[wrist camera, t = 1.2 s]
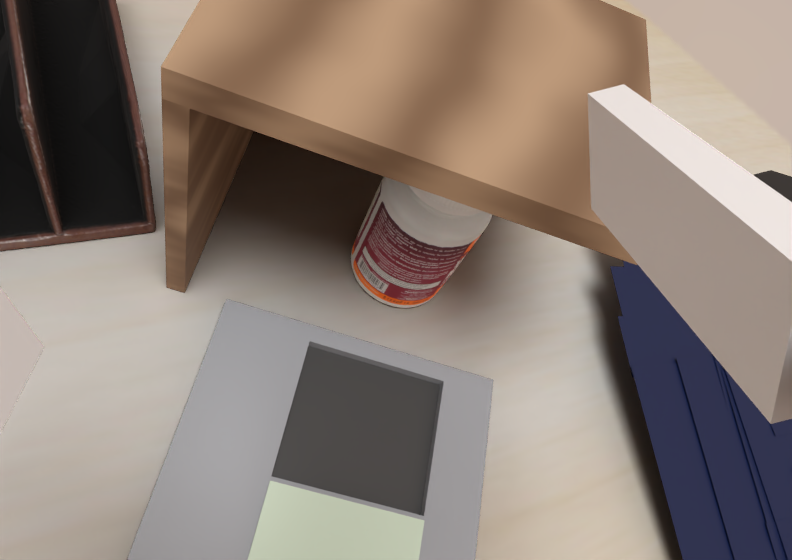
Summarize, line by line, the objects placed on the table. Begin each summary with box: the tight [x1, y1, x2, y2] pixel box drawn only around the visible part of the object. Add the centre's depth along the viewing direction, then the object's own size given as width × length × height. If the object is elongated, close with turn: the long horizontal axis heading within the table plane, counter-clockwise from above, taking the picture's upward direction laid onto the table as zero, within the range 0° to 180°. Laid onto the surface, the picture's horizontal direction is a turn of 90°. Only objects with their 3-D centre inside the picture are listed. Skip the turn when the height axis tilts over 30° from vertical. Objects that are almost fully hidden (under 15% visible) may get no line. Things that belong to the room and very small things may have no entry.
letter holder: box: [0, 0, 156, 251], centre depth 32 cm, size 10×20×14 cm, turn 20°
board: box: [127, 299, 493, 560], centre depth 31 cm, size 16×17×1 cm
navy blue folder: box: [610, 261, 792, 560], centre depth 41 cm, size 24×30×4 cm
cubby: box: [161, 0, 651, 293], centre depth 33 cm, size 19×14×16 cm
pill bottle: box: [351, 176, 492, 308], centre depth 35 cm, size 6×6×11 cm
